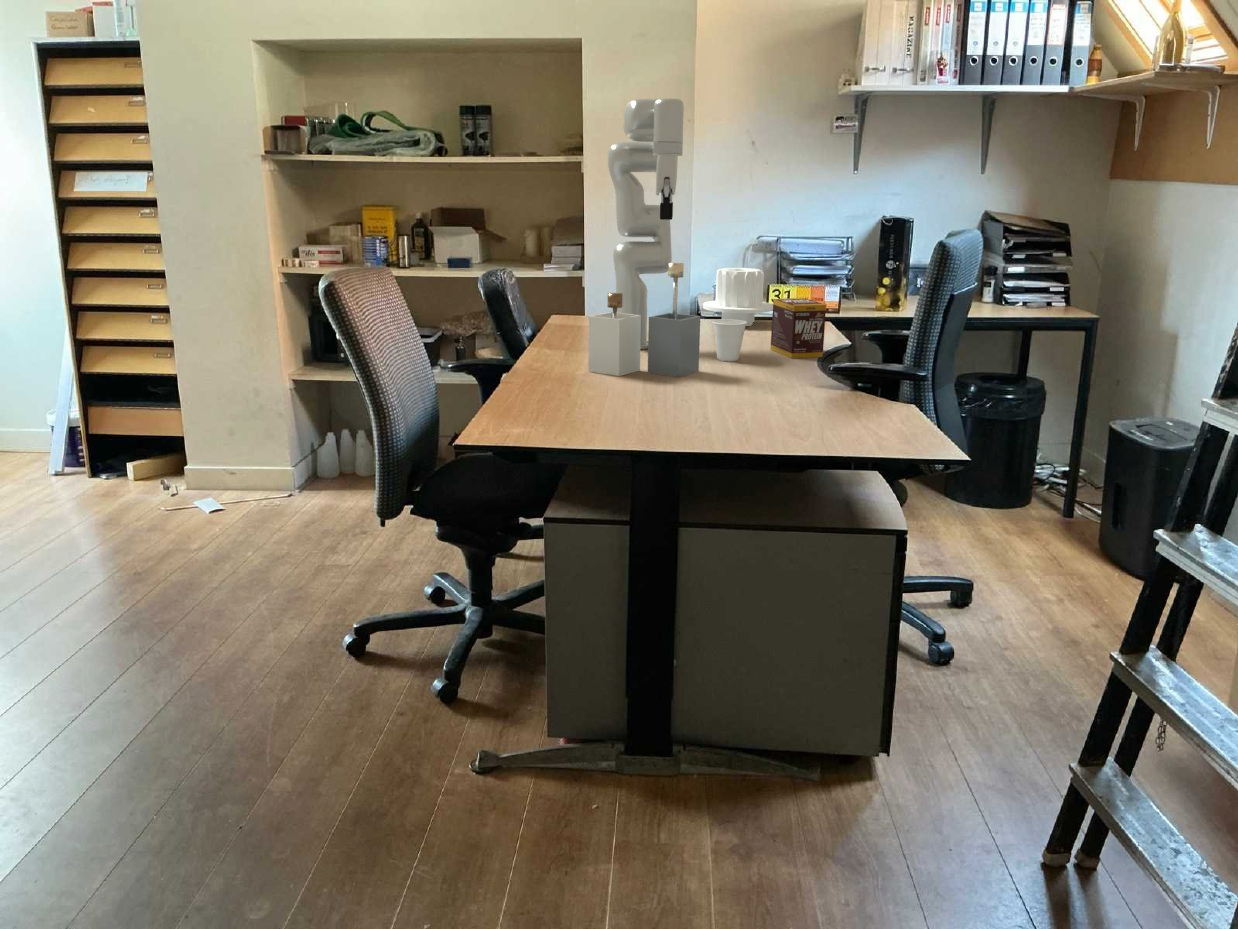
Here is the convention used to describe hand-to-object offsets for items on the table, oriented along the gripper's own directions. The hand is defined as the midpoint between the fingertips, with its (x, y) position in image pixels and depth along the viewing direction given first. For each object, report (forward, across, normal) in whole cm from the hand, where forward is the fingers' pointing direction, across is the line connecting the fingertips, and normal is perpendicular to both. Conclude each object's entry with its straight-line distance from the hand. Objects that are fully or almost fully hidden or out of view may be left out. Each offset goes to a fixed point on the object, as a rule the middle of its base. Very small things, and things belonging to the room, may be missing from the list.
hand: (666, 218), depth 268 cm
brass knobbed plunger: (+31, 0, +3) cm, 31 cm away
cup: (+41, -20, +18) cm, 49 cm away
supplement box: (+41, -33, +39) cm, 65 cm away
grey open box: (+40, 0, +3) cm, 40 cm away
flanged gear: (+40, -89, +25) cm, 101 cm away
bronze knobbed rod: (+39, 0, -13) cm, 41 cm away
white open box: (+40, 0, -13) cm, 43 cm away
